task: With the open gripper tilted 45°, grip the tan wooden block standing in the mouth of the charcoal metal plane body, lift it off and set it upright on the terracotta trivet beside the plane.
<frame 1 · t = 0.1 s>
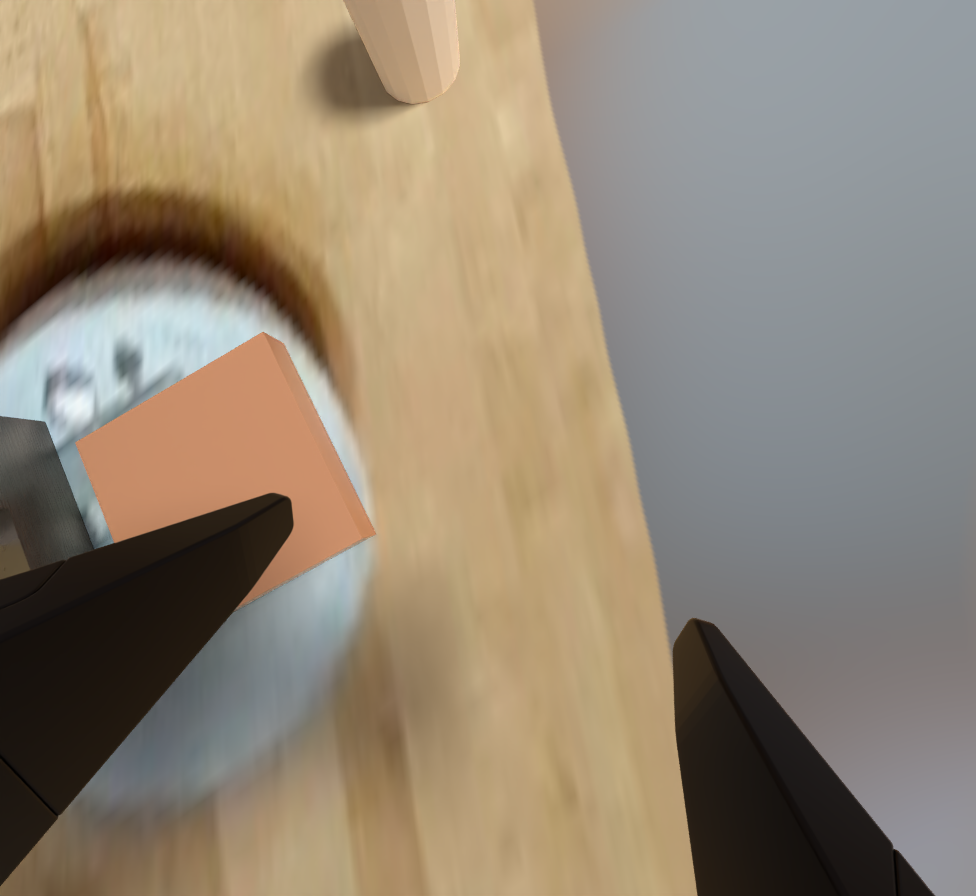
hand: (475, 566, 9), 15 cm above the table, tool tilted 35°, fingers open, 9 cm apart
plane body: (39, 582, 26), on the table
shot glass: (420, 68, 27), on the table
trivet: (236, 487, 25), on the table
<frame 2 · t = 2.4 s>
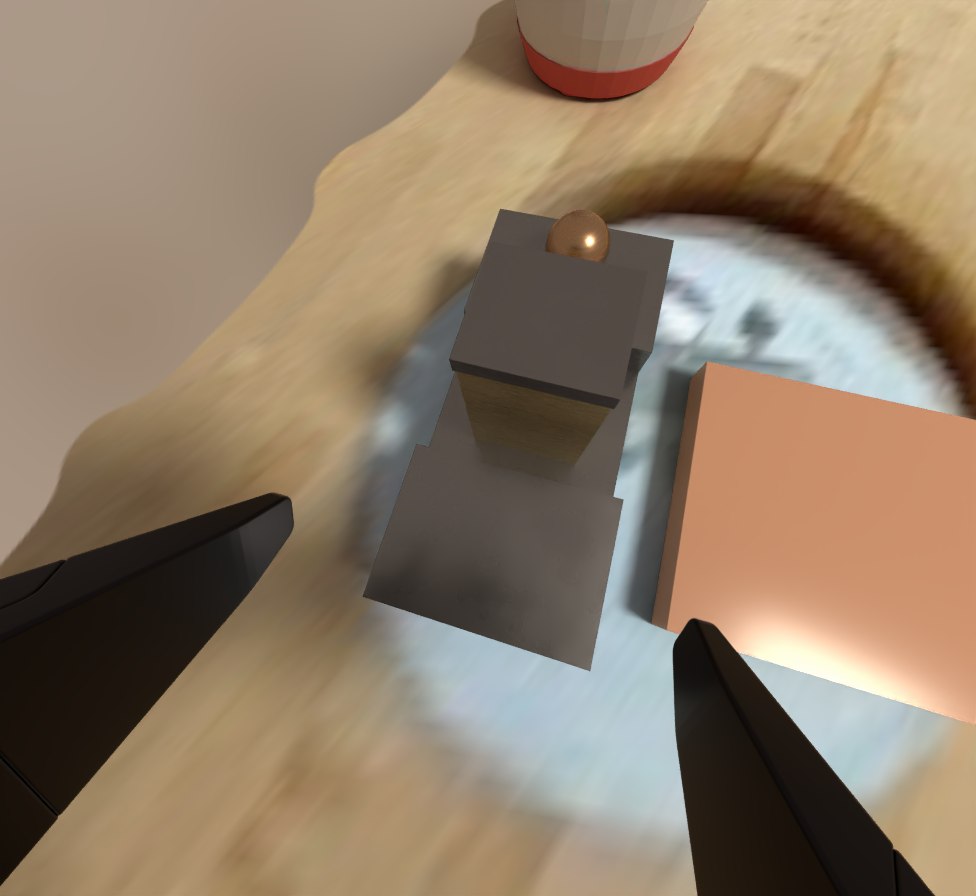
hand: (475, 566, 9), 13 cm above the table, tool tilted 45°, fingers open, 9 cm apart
plane body: (530, 436, 23), on the table
tan wooden block: (534, 413, 19), point 3 cm above the table, touching plane body
citrus juicer: (593, 51, 32), on the table
trivet: (808, 526, 20), on the table
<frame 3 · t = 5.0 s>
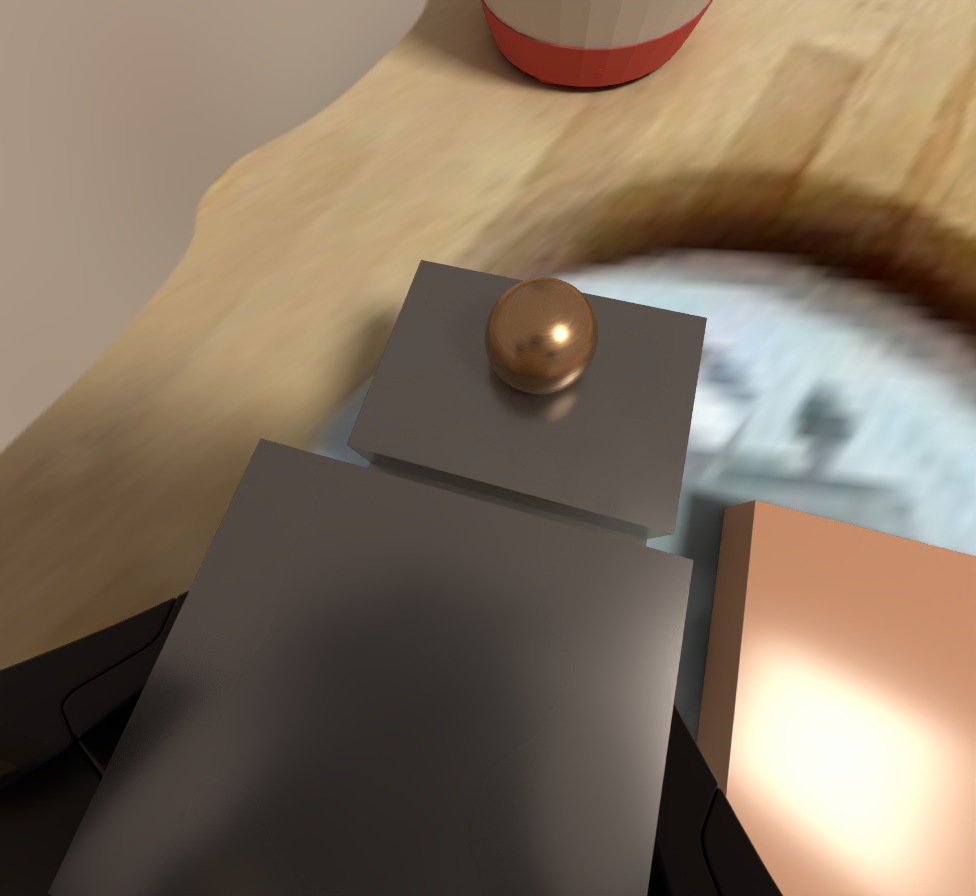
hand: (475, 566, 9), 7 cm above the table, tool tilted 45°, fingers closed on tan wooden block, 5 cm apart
plane body: (479, 603, 15), on the table
tan wooden block: (470, 614, 11), point 3 cm above the table, touching gripper, plane body
citrus juicer: (582, 24, 24), on the table
trivet: (924, 777, 13), on the table
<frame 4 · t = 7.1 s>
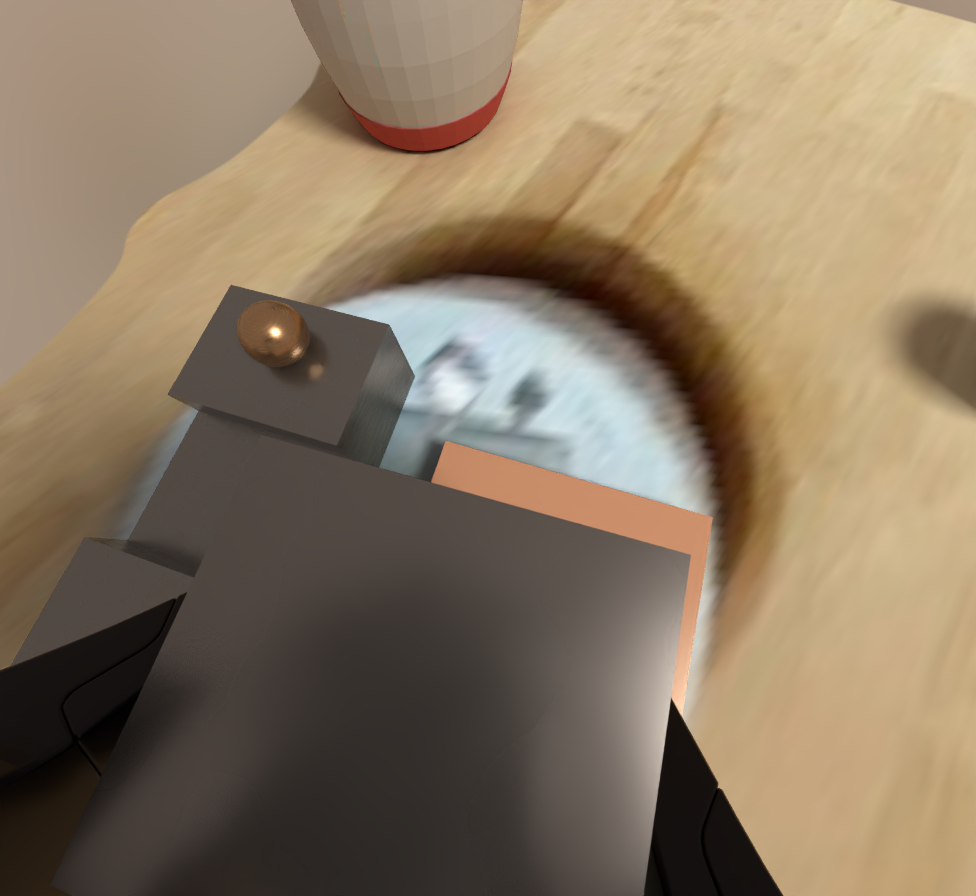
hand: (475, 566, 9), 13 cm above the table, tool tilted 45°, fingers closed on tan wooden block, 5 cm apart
plane body: (282, 508, 22), on the table
tan wooden block: (470, 612, 11), point 10 cm above the table, touching gripper
citrus juicer: (428, 98, 32), on the table
trivet: (534, 612, 20), on the table
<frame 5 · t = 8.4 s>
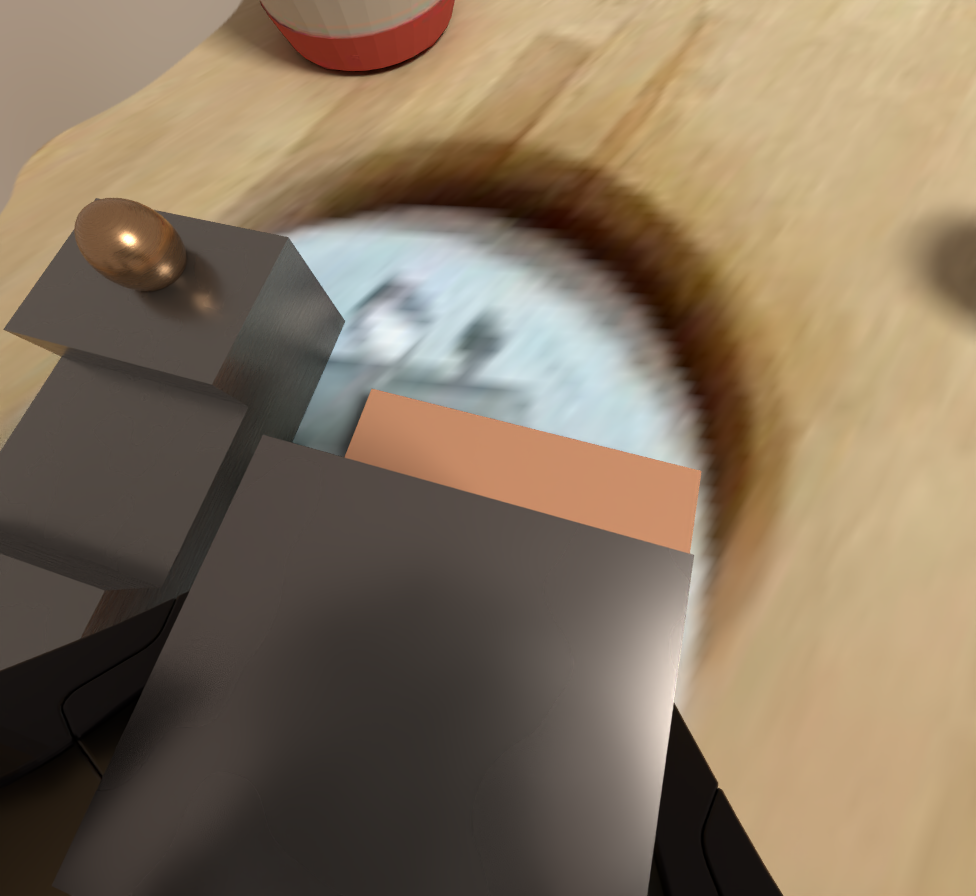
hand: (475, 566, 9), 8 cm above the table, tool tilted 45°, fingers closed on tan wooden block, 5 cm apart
plane body: (179, 479, 18), on the table
tan wooden block: (471, 612, 11), point 5 cm above the table, touching gripper
citrus juicer: (370, 18, 28), on the table
trivet: (483, 596, 16), on the table
when the fingers open (7 cm above the table, at t = 9.2 s): tan wooden block drops 1 cm, resting on trivet.
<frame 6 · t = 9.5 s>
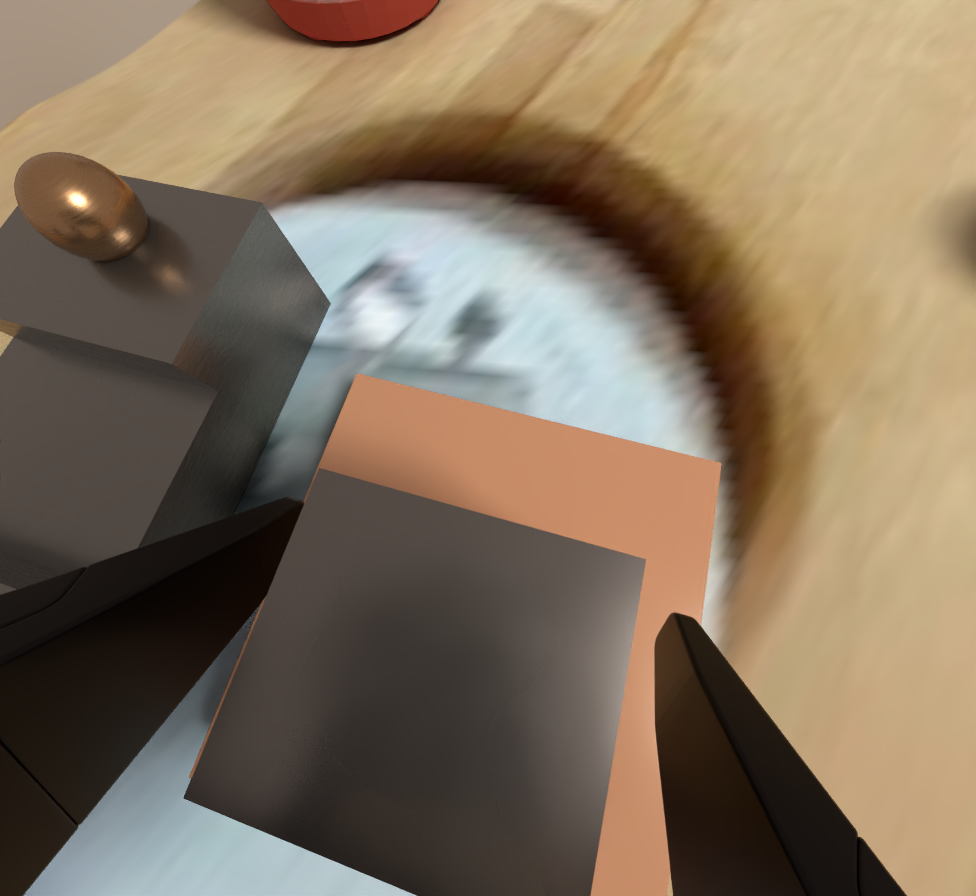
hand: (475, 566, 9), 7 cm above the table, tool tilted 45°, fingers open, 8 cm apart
plane body: (147, 473, 17), on the table
tan wooden block: (475, 608, 13), point 2 cm above the table, touching trivet
trivet: (479, 602, 15), on the table
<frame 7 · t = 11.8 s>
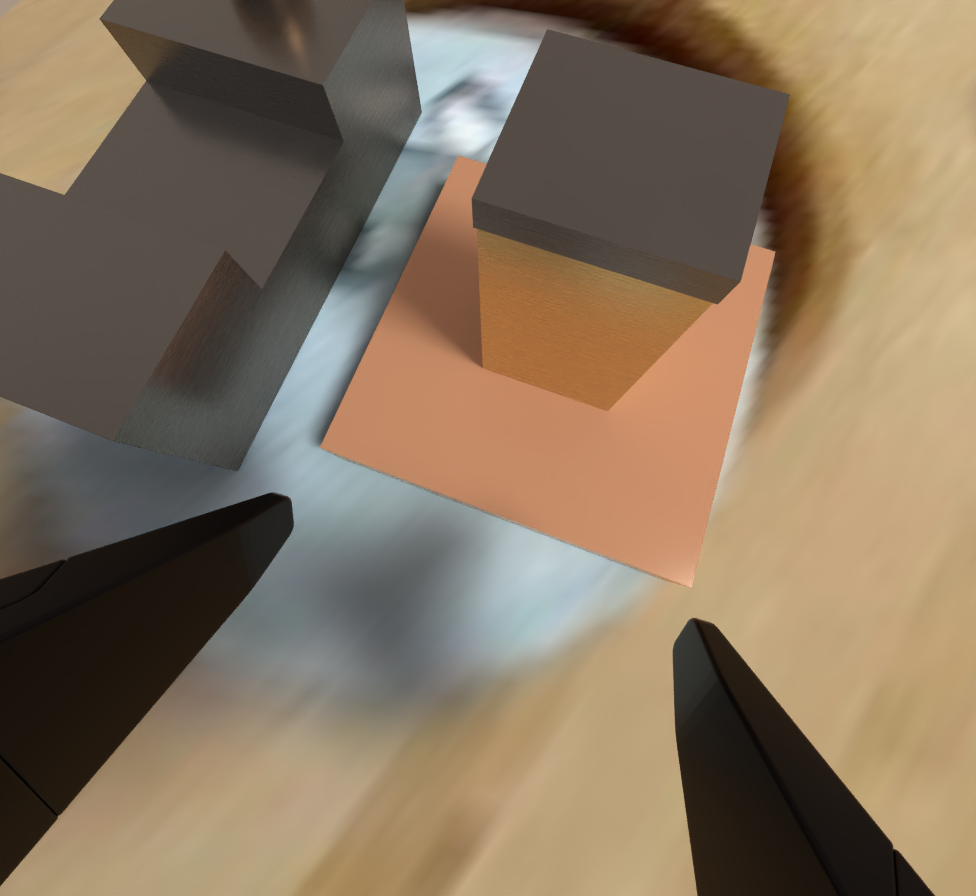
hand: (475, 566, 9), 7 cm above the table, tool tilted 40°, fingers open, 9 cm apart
plane body: (253, 243, 19), on the table
tan wooden block: (560, 344, 15), point 2 cm above the table, touching trivet
trivet: (552, 365, 17), on the table
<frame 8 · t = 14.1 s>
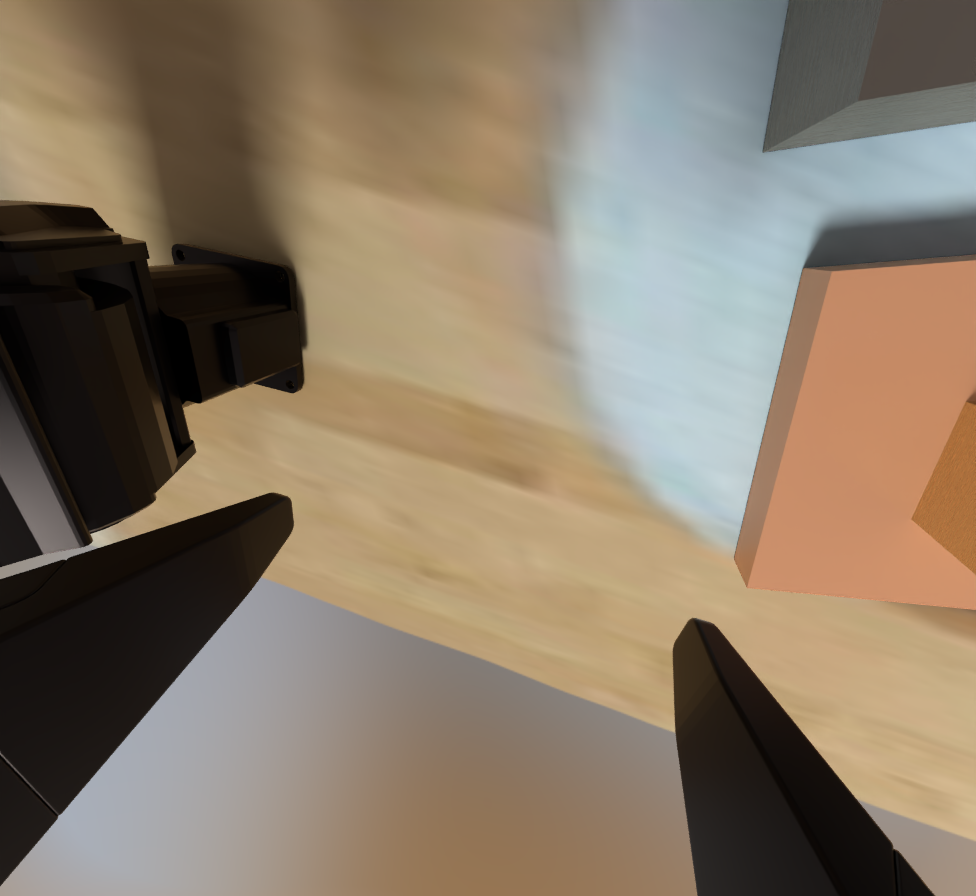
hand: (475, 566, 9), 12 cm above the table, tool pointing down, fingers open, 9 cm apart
trivet: (960, 441, 16), on the table
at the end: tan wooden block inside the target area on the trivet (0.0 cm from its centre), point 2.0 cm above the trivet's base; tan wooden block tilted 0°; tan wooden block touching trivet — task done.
